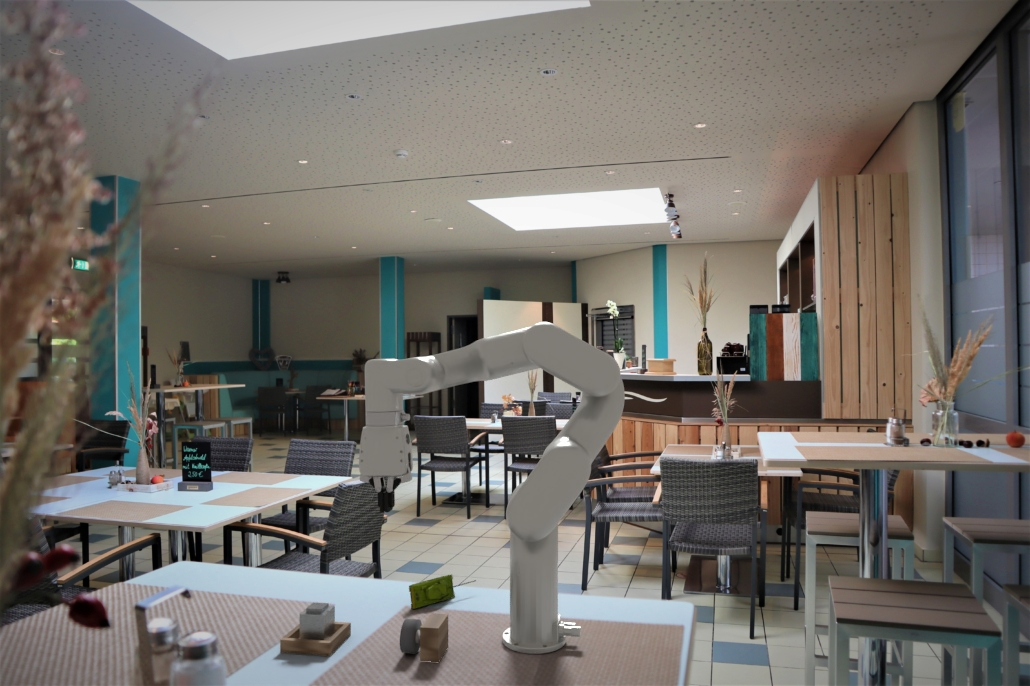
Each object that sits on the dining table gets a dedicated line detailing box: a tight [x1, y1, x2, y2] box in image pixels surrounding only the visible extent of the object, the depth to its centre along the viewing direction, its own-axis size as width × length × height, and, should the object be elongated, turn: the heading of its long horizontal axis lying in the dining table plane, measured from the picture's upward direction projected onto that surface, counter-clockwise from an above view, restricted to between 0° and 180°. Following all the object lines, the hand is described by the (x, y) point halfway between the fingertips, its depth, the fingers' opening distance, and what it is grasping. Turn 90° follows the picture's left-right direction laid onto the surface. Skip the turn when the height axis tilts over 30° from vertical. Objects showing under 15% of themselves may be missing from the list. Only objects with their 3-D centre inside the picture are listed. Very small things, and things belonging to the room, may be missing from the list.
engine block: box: [299, 602, 336, 641], centre depth 137 cm, size 5×5×7 cm
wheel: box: [399, 618, 423, 655], centre depth 133 cm, size 3×6×6 cm, turn 170°
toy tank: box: [408, 574, 477, 610], centre depth 160 cm, size 7×19×10 cm
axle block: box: [419, 612, 449, 663], centre depth 132 cm, size 4×7×6 cm, turn 171°
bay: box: [279, 621, 352, 657], centre depth 137 cm, size 10×10×2 cm
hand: (386, 510), depth 140 cm, fingers closed
